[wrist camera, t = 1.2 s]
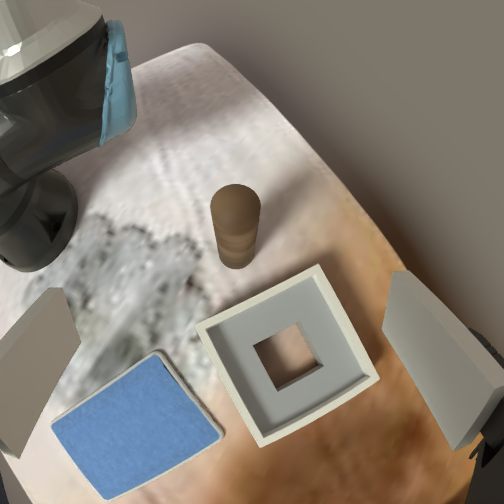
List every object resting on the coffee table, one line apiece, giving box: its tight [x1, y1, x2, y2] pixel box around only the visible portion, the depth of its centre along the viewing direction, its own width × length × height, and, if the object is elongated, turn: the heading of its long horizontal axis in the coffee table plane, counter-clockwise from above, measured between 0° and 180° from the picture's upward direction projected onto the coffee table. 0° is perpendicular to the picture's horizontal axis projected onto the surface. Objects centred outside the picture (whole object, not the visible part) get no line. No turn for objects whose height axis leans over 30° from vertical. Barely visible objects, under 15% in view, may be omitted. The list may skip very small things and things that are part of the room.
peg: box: [210, 184, 261, 269], centre depth 30 cm, size 4×4×12 cm
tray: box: [194, 264, 380, 448], centre depth 31 cm, size 14×14×4 cm
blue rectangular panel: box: [50, 351, 224, 501], centre depth 28 cm, size 19×13×1 cm, turn 128°
